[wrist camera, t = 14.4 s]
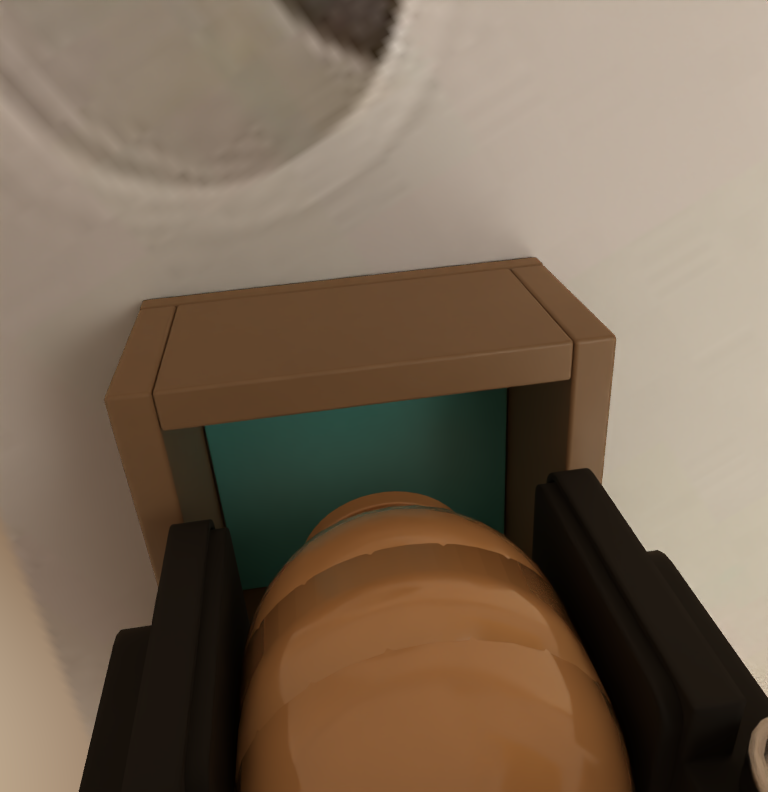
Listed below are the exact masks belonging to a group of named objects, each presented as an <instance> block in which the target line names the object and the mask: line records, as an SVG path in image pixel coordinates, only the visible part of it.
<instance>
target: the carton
mask: <svg viewBox="0 0 768 792" xmlns="http://www.w3.org/2000/svg"><path fill="white" fill-rule="evenodd" d="M615 346H616V337H615V335H614V334H613V333H612V332H611V331H610V330H609V329H608V328H607V327H606V326H605V325H604V324H603V323H602V322H601V321H600V320H599V319H598V318H597V317H596V316H595V315H594V314H593V313H592V312H591V311H590V310H589V309H588V308H587V307H586V306H585V305H583V304H582V303H581V302H580V301H579V300H578V299H577V298H576V297H575V296H574V295H573V294H572V293H571V292H570V291H569V290H568V289H567V288H566V287H565V286H564V285H563V284H562V283H561V282H560V281H559V280H558V279H557V278H556V277H555V276H554V275H553V274H552V273H551V272H550V271H549V270H548V269H547V268H546V267H545V266H543V264H542V263H541V262H540V261H539V260H538V259H537V258H535V257H533V258H524V259H515V260H505V261H496V262H487V263H478V264H469V265H460V266H451V267H442V268H433V269H424V270H415V271H406V272H396V273H387V274H378V275H369V276H360V277H351V278H342V279H333V280H324V281H315V282H306V283H297V284H287V285H278V286H269V287H260V288H251V289H242V290H233V291H224V292H215V293H206V294H197V295H188V296H178V297H169V298H160V299H151V300H144V301H143V302H142V305H141V307H140V311H139V313H138V316H137V318H136V321H135V323H134V326H133V328H132V331H131V333H130V336H129V338H128V341H127V343H126V346H125V348H124V351H123V353H122V355H121V358H120V360H119V363H118V365H117V368H116V370H115V373H114V375H113V378H112V380H111V383H110V385H109V388H108V390H107V393H106V395H105V398H104V402H105V405H106V409H107V412H108V416H109V419H110V423H111V426H112V430H113V433H114V436H115V440H116V443H117V447H118V450H119V454H120V457H121V461H122V464H123V467H124V471H125V474H126V478H127V481H128V485H129V488H130V492H131V495H132V498H133V502H134V505H135V509H136V512H137V516H138V519H139V523H140V526H141V529H142V533H143V536H144V540H145V543H146V547H147V550H148V554H149V557H150V560H151V564H152V567H153V571H154V574H155V578H156V581H157V585H158V587H159V581H160V576H161V570H162V565H163V559H164V554H165V548H166V543H167V537H168V532H169V528H170V526H171V525H172V524H179V523H186V522H194V521H201V520H208V519H211V520H213V523H214V525H215V529H220V528H229V531H230V535H231V539H232V544H233V548H234V553H235V557H236V562H237V567H238V571H239V576H240V581H241V585H242V590H243V595H244V599H245V604H246V608H247V613H248V618H249V622H251V620H252V618H253V616H254V614H255V611H256V609H257V607H258V605H259V602H260V601H261V599H262V597H263V595H264V593H265V591H266V589H267V587H268V585H269V583H270V581H271V580H272V579H273V578H274V577H275V575H276V574H277V573H278V572H279V571H280V569H281V568H282V567H283V566H284V565H285V563H286V562H287V561H288V560H289V559H290V558H291V557H292V555H293V554H294V553H295V552H296V551H297V550H298V549H299V548H300V547H301V546H303V545H304V544H305V542H306V540H307V538H308V537H309V535H310V534H311V532H312V531H313V529H314V528H315V527H316V526H317V525H318V523H319V522H320V521H321V520H322V519H323V518H325V517H326V516H327V515H328V514H329V513H331V512H332V511H333V510H335V509H336V508H338V507H339V506H341V505H343V504H345V503H347V502H349V501H351V500H354V499H356V498H359V497H362V496H366V495H369V494H373V493H379V492H388V491H405V492H412V493H418V494H422V495H425V496H429V497H431V498H433V499H436V500H438V501H440V502H442V503H443V504H445V505H447V506H448V507H449V508H450V509H452V510H453V511H454V512H457V513H461V514H464V515H467V516H469V517H471V518H473V519H476V520H478V521H480V522H482V523H484V524H486V525H488V526H490V527H491V528H493V529H495V530H497V531H499V532H500V533H502V534H504V535H505V536H506V537H507V538H508V539H510V540H511V541H512V542H513V543H514V544H515V545H516V546H517V547H518V548H520V549H521V550H522V551H523V552H524V553H525V554H526V555H527V556H528V557H529V558H531V559H532V545H533V524H534V503H535V489H536V486H537V485H538V484H546V481H547V477H548V475H549V474H550V473H552V472H559V471H567V470H574V469H581V468H588V469H590V470H591V471H592V472H593V473H594V474H595V476H596V477H597V479H598V480H599V482H600V483H601V485H602V475H603V466H604V456H605V446H606V436H607V426H608V416H609V406H610V396H611V386H612V376H613V366H614V356H615Z"/></svg>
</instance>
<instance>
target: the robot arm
mask: <svg viewBox="0 0 768 792" xmlns="http://www.w3.org/2000/svg"><path fill="white" fill-rule="evenodd" d="M532 560H533V561H534V562H535V563H536V564H537V565H538V566H539V567H540V569H541V570H542V572H543V573H544V575H545V576H546V578H547V579H548V581H549V582H550V584H551V586H552V587H553V589H554V590H555V592H556V593H557V594H558V596H559V597H560V599H561V601H562V602H563V604H564V606H565V607H566V609H567V612H568V614H569V616H570V618H571V620H572V622H573V624H574V626H575V628H576V630H577V632H578V634H579V636H580V639H581V641H582V643H583V645H584V647H585V649H586V651H587V653H588V655H589V657H590V659H591V661H592V663H593V665H594V668H595V670H596V672H597V674H598V676H599V678H600V680H601V682H602V684H603V686H604V688H605V690H606V692H607V695H608V697H609V699H610V701H611V703H612V705H613V708H614V711H615V713H616V716H617V719H618V722H619V725H620V727H621V730H622V733H623V736H624V739H625V742H626V745H627V749H628V752H629V756H630V760H631V764H632V771H633V778H634V785H635V792H768V697H767V696H766V695H765V693H764V692H763V690H762V689H761V687H760V686H759V685H758V683H757V682H756V680H755V679H754V678H753V676H752V675H751V673H750V672H749V670H748V669H747V668H746V666H745V665H744V663H743V662H742V661H741V659H740V658H739V656H738V655H737V653H736V652H735V651H734V649H733V648H732V646H731V645H730V644H729V642H728V641H727V639H726V638H725V637H724V635H723V634H722V632H721V631H720V629H719V628H718V627H717V625H716V624H715V622H714V621H713V620H712V618H711V617H710V615H709V614H708V612H707V611H706V610H705V608H704V607H703V605H702V604H701V603H700V601H699V600H698V598H697V597H696V595H695V594H694V593H693V591H692V590H691V588H690V587H689V586H688V584H687V583H686V581H685V580H684V578H683V577H682V576H681V574H680V573H679V571H678V570H677V569H676V567H675V566H674V564H673V563H672V562H671V560H670V559H669V558H668V557H667V556H666V555H665V554H664V553H662V552H660V551H658V550H656V551H649V552H646V550H645V549H644V547H643V546H642V544H641V543H640V541H639V540H638V538H637V537H636V535H635V534H634V532H633V531H632V529H631V528H630V526H629V525H628V523H627V522H626V520H625V519H624V517H623V516H622V514H621V513H620V512H619V510H618V509H617V507H616V506H615V504H614V503H613V501H612V500H611V498H610V497H609V495H608V494H607V492H606V491H605V489H604V488H603V486H602V485H601V483H600V482H599V480H598V479H597V477H596V476H595V474H594V473H593V472H592V471H591V470H590V469H588V468H581V469H574V470H567V471H559V472H552V473H550V474H549V475H548V477H547V481H546V484H538V485H537V486H536V489H535V503H534V524H533V545H532ZM249 625H250V622H249V618H248V613H247V608H246V604H245V599H244V595H243V590H242V585H241V581H240V576H239V571H238V567H237V562H236V557H235V553H234V548H233V544H232V539H231V535H230V531H229V528H220V529H215V525H214V523H213V520H211V519H208V520H201V521H194V522H186V523H179V524H172V525H171V526H170V528H169V532H168V537H167V543H166V548H165V554H164V559H163V565H162V570H161V576H160V581H159V587H158V592H157V597H156V603H155V608H154V614H153V619H152V625H151V626H144V627H137V628H131V629H124V630H120V632H119V633H118V634H117V636H116V639H115V642H114V645H113V649H112V653H111V657H110V661H109V666H108V670H107V674H106V678H105V682H104V687H103V691H102V695H101V699H100V704H99V708H98V712H97V716H96V721H95V725H94V729H93V733H92V738H91V742H90V746H89V750H88V755H87V759H86V763H85V767H84V772H83V776H82V780H81V784H80V789H79V792H235V772H236V748H237V724H238V700H239V680H240V669H241V663H242V657H243V651H244V646H245V642H246V637H247V633H248V629H249Z"/></svg>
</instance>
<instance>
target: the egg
mask: <svg viewBox="0 0 768 792" xmlns="http://www.w3.org/2000/svg"><path fill="white" fill-rule="evenodd" d="M235 792H635V785H634V778H633V771H632V764H631V760H630V756H629V752H628V749H627V745H626V742H625V739H624V736H623V733H622V730H621V727H620V725H619V722H618V719H617V716H616V713H615V711H614V708H613V705H612V703H611V701H610V699H609V697H608V695H607V692H606V690H605V688H604V686H603V684H602V682H601V680H600V678H599V676H598V674H597V672H596V670H595V668H594V665H593V663H592V661H591V659H590V657H589V655H588V653H587V651H586V649H585V647H584V645H583V643H582V641H581V639H580V636H579V634H578V632H577V630H576V628H575V626H574V624H573V622H572V620H571V618H570V616H569V614H568V612H567V609H566V607H565V606H564V604H563V602H562V601H561V599H560V597H559V596H558V594H557V593H556V592H555V590H554V589H553V587H552V586H551V584H550V582H549V581H548V579H547V578H546V576H545V575H544V573H543V572H542V570H541V569H540V567H539V566H538V565H537V564H536V563H535V562H534V561H533V560H532V559H531V558H529V557H528V556H527V555H526V554H525V553H524V552H523V551H522V550H521V549H520V548H518V547H517V546H516V545H515V544H514V543H513V542H512V541H511V540H510V539H508V538H507V537H506V536H505V535H504V534H502V533H500V532H499V531H497V530H495V529H493V528H491V527H490V526H488V525H486V524H484V523H482V522H480V521H478V520H476V519H473V518H471V517H469V516H467V515H464V514H461V513H457V512H454V511H453V510H452V509H450V508H449V507H448V506H447V505H445V504H443V503H442V502H440V501H438V500H436V499H433V498H431V497H429V496H425V495H422V494H418V493H412V492H405V491H388V492H379V493H373V494H369V495H366V496H362V497H359V498H356V499H354V500H351V501H349V502H347V503H345V504H343V505H341V506H339V507H338V508H336V509H335V510H333V511H332V512H331V513H329V514H328V515H327V516H326V517H325V518H323V519H322V520H321V521H320V522H319V523H318V525H317V526H316V527H315V528H314V529H313V531H312V532H311V534H310V535H309V537H308V538H307V540H306V542H305V544H304V545H303V546H301V547H300V548H299V549H298V550H297V551H296V552H295V553H294V554H293V555H292V557H291V558H290V559H289V560H288V561H287V562H286V563H285V565H284V566H283V567H282V568H281V569H280V571H279V572H278V573H277V574H276V575H275V577H274V578H273V579H272V580H271V581H270V583H269V585H268V587H267V589H266V591H265V593H264V595H263V597H262V599H261V601H260V602H259V605H258V607H257V609H256V611H255V614H254V616H253V618H252V620H251V622H250V625H249V629H248V633H247V637H246V642H245V646H244V651H243V657H242V663H241V669H240V680H239V700H238V724H237V748H236V772H235Z"/></svg>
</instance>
